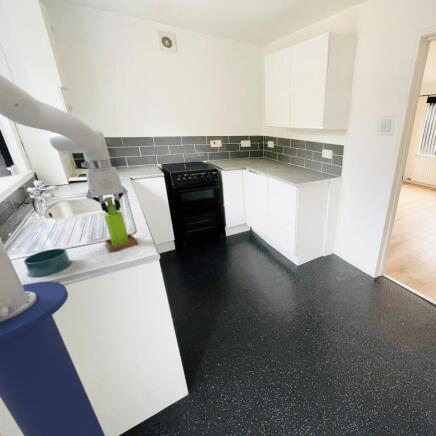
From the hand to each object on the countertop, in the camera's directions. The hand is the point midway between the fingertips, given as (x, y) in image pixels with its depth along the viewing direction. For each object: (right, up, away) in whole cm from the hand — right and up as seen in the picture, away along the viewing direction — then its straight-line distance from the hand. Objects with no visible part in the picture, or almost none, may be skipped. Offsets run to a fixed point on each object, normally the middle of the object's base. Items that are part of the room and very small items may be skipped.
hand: (112, 210), depth 98 cm
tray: (0, -14, +5) cm, 15 cm away
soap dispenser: (0, -14, +5) cm, 15 cm away
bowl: (-13, -21, -12) cm, 27 cm away
